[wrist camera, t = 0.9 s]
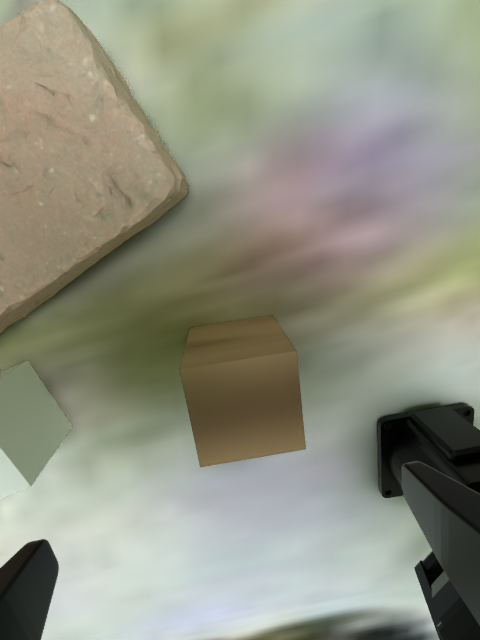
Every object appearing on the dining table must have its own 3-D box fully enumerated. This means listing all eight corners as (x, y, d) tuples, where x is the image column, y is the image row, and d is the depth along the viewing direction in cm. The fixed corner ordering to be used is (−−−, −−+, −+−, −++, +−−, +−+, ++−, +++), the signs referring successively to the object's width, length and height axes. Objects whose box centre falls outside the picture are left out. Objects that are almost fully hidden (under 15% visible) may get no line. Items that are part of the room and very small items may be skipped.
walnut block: (280, 388, 21) (305, 448, 15) (204, 401, 21) (200, 467, 15) (272, 314, 20) (296, 350, 14) (189, 327, 19) (179, 369, 14)
